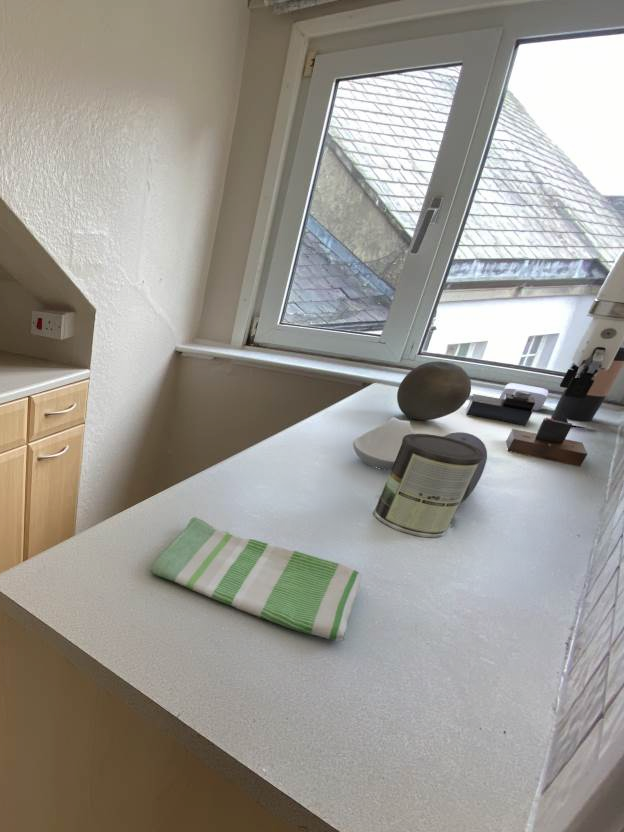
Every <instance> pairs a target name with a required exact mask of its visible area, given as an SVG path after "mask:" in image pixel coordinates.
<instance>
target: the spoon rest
mask: <svg viewBox="0 0 624 832" xmlns="http://www.w3.org/2000/svg"><path fill="white" fill-rule="evenodd" d="M408 434H414V431H413V429H412V425H411V421H410V420H402V419H399V418H396V417H391V418H389V419H388V420H387V421H386V422H384V423H382V424H381V425H379V426H377V427H375V428H373V429H371V430H368V431H367V432H365V433H362V434H361V435H360V436H358V437H357V438H356V439H354V440H353V442H352V447H353V450H354V452H355V454H356V456H357V457H358V458H359V459H360V460H361V461H362V462H363V463H365V464H366V463H367V464H366V465H368V464H369V465H368V466H370V465H371V466H370V467H372V466H374V467H373V468H375V467H377V468H376V469H378V468H380V469H379V470H383V469H385V470H384V471H391V470H392V467H393V465H394V462H395V460H396V457H397V455H398V452H399V450H400V447H401V445H402V440H403V437H404V436H406V435H408Z"/></svg>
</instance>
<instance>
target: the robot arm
mask: <svg viewBox="0 0 624 832" xmlns="http://www.w3.org/2000/svg"><path fill="white" fill-rule="evenodd" d="M586 317H590V318H592V319H591V321H590V323H589V324H588V326H587V328H586V329H585V332H584V333H583V335H582V337H581V339H580V341H579V343H578V345H577V347H576V349H575V351H574V353H573V356H572V363H571V364H570V367H569V368H568V369H567V371H566V373H565V375H564V376H563V378H562V379H561V382H560V384H559V387H560V388H564V389H565V388H567V389H566V391H565V393H564V395H565V396H568V397H574V398H579V399H584V398H585V397H586V395H587V393H588V392H589V390H590V388H591V386H592V384H593V383H594V381H595V378H596V376H597V373H598V370H599V368H600V369H601V370H602V371H605V370H608V369H609V367H610V366H611V364H612V362H613V360H614V358H615V356H616V354H617V352H618V350H619V348H620V347H622V344H623V342H624V248H622V250H621V251H620V252H619V254H618V255H617V257H616V258H615V261H614V262H613V265H612V266H611V268H610V270H609V272H608V274H607V276H606V278H605V280H604V281H603V283H602V285H601V287H600V289H599V291H598V293H597V295H596V297H595V299H594V300H593V302H592V304H591V305H590V308H589V310H588V311H587V313H586Z"/></svg>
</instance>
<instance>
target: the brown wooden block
mask: <svg viewBox="0 0 624 832" xmlns="http://www.w3.org/2000/svg"><path fill="white" fill-rule="evenodd" d="M536 433H537V432H532V431H526V430H521V429H516V428H511V431H510V432H509V435H508V437H507V438H506V448H508V450H507V452H510V451H512V452H511V453H514V452H516V453H515V454H520V455H525V456H528V455H529V456H528V457H534V458H537V459H543V460H547V461H552V462H556V463H560V464H566V465H570V466H575V467H578V468H579V467H581V466H582V465H583V463H584V462H585V460H586V458H587V456H588V452H587V450H586V448H585V445H584V442H581V441H577V440H571V439H566V438H565V440H564V442H563V443H562V444H559V443H554V442H549V441H544V440H539V439H535V435H536Z"/></svg>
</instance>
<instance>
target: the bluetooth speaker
mask: <svg viewBox="0 0 624 832" xmlns="http://www.w3.org/2000/svg"><path fill="white" fill-rule="evenodd" d="M442 436H443V437H447V438H451V439H455V440H458V441H462V442H465V443H467V444H470V445H472V446H474V447H476V448H478V449H479V450H481V451H482V452H483V453H484V457H483V459H482V460H481V461H480V463H479V465H478V467H477V469H476V471H475V473H474V475H473V477H472V479H471V481H470V483H469V486H468V488H467V490H466V492H465V494H464V496H463V498H462V500H461V502H460V504H462V503H463V502H464V501H466V499H468V498H469V497H470V495H471V494H472V493H473V492H474V490H475V488H476V486H477V485H478V483H479V481H480V479H481V478H482V475H483V473H484V470H485V468H486V464H487V459H488V451H487V447H486V445H485V443H484V441H482V440H481V438H479V437H477V436H476V435H474V434H471V433H468V432H461V431H460V432H451V433H448V434H445V435H442Z"/></svg>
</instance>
